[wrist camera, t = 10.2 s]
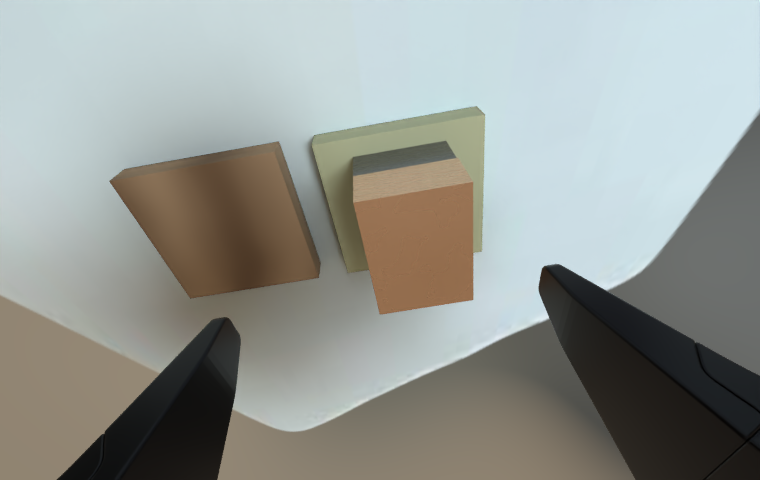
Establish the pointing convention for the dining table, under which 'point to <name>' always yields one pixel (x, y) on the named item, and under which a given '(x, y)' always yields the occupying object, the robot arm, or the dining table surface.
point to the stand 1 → (223, 219)
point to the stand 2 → (341, 146)
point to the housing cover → (417, 234)
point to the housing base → (402, 158)
